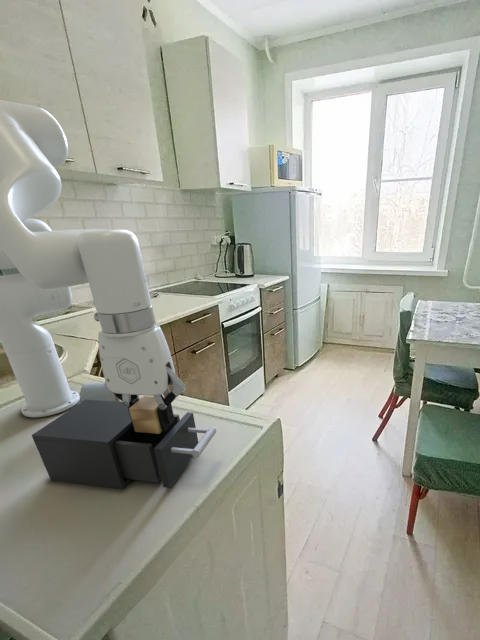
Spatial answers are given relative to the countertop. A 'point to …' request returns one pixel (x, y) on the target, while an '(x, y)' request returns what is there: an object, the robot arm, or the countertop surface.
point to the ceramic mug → (97, 393)
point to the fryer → (85, 444)
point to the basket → (161, 451)
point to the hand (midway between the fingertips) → (154, 424)
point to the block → (145, 415)
